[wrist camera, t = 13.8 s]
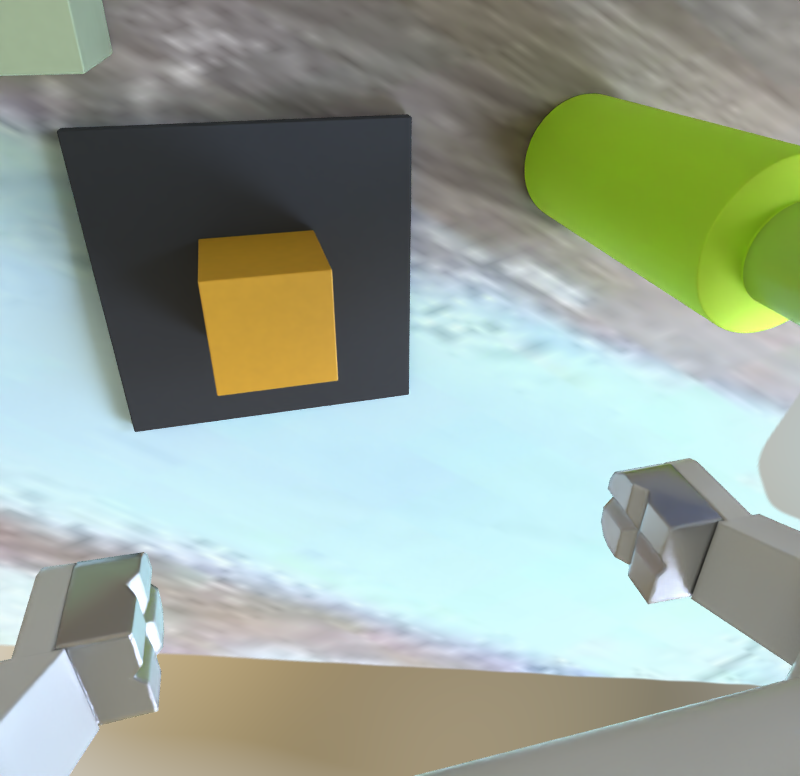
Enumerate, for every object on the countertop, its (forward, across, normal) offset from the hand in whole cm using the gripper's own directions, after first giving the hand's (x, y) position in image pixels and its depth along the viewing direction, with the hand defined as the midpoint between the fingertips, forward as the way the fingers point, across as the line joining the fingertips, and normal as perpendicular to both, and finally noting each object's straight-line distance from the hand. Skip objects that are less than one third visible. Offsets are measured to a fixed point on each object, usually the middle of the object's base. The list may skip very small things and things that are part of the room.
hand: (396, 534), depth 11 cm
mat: (+21, +1, +4) cm, 21 cm away
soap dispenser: (+22, -15, -1) cm, 26 cm away
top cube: (+20, +1, +4) cm, 21 cm away
